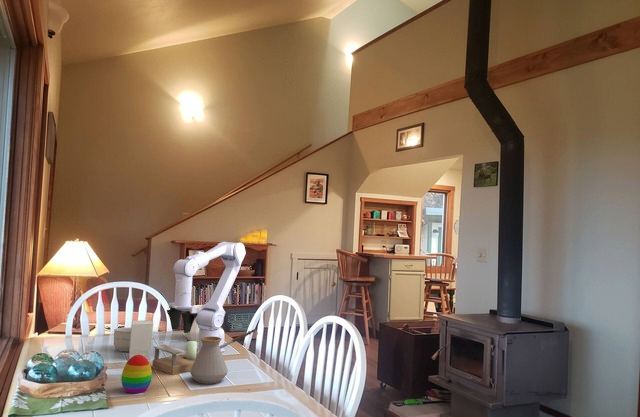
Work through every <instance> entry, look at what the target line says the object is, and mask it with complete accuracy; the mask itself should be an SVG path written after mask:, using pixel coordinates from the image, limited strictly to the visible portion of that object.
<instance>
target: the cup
mask: <svg viewBox="0 0 640 417" xmlns="http://www.w3.org/2000/svg"><path fill="white" fill-rule="evenodd" d="M203 305H204V304H197V305H196V304H195V305H193V306H194V307H196V308H197V312H196V313H198V311H199V310H200V309H201V308H202V306H203ZM185 335H186V337H187V339H188V341H197V342H199V328H198V325H197V323H196V320H194V322H193V324H192V327H191V331H190V332H189V333H185Z"/></svg>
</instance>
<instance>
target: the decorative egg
mask: <svg viewBox="0 0 640 417" xmlns="http://www.w3.org/2000/svg"><path fill="white" fill-rule="evenodd" d="M151 366H152V365H151V364H150V361H149V360H147V359H146V358H145V357H144V356H142V355H135V356H133V357H132V358H130V359H129V358H128V360H127V362H126V363H125V364H124V367H123V369H122V372H121V378H120V380H121V381H120V382H121V387H122V388H123V391H125V392H126V393H129V394H140V393H143V392H145V391H146V390H147V389H148V388H149V386H150V385H151V383H152V379H153V372H152V367H151Z"/></svg>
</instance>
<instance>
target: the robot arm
mask: <svg viewBox="0 0 640 417" xmlns="http://www.w3.org/2000/svg"><path fill="white" fill-rule="evenodd" d="M246 253H247V252H246V248H245V245H244V243H242V242H227V241H221V242H219V243H217V245H215V246H213V247H212V248H210V249H209V250H206V251H198V250H197V251H196V252H195V254H193V255H191V256H189V255H188V256H186V258H185V259H183V258H181V259H179V260H177V261H176V262H175V263H174V266H173V267H172V271H173V273H174V278H175V292H174V302H168V309H167V310H166V313H167V315H168V318H169V321H170V326H171V327H170V328H171V330H178V328H179V326H180V320H181V319H180V318H181V317H182V322H183V333H184V334H186V333H189V332H190V331H191V327H192V324H193V322H194V320H196V323H197V325H198V328H199V341H197V351H196V352H199V351H200V349H201V347H202V341H201V338H202V337H220V338H221V341H220V343H219V346H221V345H223V344H225V330H224V329H223V327H222V325H223V323H224V320H225V319H224V318H225V316H226V311H225V309H224V307H223V306H224V305H225V302H226V300H227V297H228V296H229V293H230V291H231V290H232V287H233V285H234V283H235V280H236V278H237V276H238V273H239V271H240V270H241V265H242V262H243V261H244V259H245V256H246ZM219 257H220V259H221V262H222V264H224V265H225V269H224V270H223V271H222V274H221V276H220V277H219V281H218V283H217V285H216V287H215V289H214V291H213V293H212V295H211V298H210V299H209V301H208V302H206V303H204V304H202V305H203V306H202V308H201V309H200V310H199V311H198V313H196V312H197V308H196V307H194V305H191V304H192V290H193V289H192V288H193V276H194V275H196V272H197V271H198V270H200V269H202V268H204V267H206V266H207V265H209V263H210V261H211V260H214V259H217V258H219ZM224 348H225V347H223V348H221V352H222V353H223V352H225V351H226V350H225V349H224Z"/></svg>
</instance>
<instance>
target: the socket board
mask: <svg viewBox="0 0 640 417" xmlns="http://www.w3.org/2000/svg"><path fill="white" fill-rule="evenodd" d="M153 348H154V359H152V365H151V366H152V367H151V368H153V369H156V370H159V371H161V372H164V373H166V374H169V375H171V376H176V375H180V374H185V373H190V370H191V368H192V366H193V364H194V362H195V360H196V359H194V360H187V359H186V350H183V349H180V348H177V347H174V346H171V345H168V344H158V345H154V346H153ZM160 351H162V352H165V353H168V354H171V356H165V357H160ZM198 354H199V352H196V358H197V356H198Z"/></svg>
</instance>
